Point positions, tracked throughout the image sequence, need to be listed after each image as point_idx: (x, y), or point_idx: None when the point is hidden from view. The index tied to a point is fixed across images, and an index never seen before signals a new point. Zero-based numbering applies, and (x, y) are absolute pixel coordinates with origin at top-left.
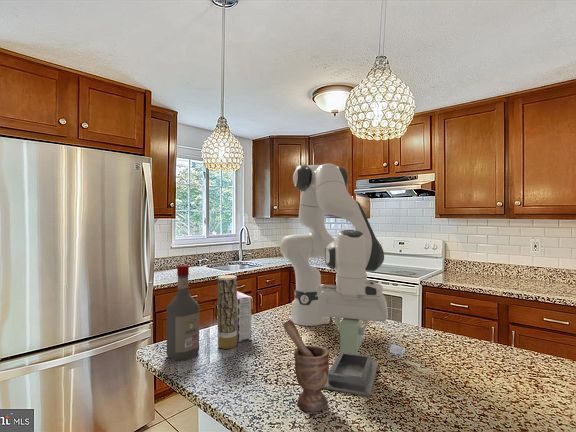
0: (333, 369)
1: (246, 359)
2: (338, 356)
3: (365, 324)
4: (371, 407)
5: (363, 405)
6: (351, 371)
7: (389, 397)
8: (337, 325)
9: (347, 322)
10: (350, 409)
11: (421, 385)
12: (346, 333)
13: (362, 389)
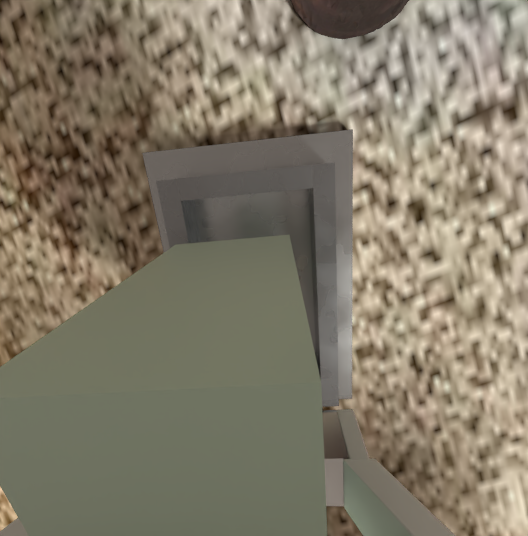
0: (323, 223)
1: None
2: (335, 361)
3: (20, 534)
4: (117, 69)
5: (149, 70)
6: None
7: (88, 183)
8: (389, 473)
9: (185, 469)
10: (184, 5)
11: (31, 314)
12: (217, 295)
13: (181, 175)
